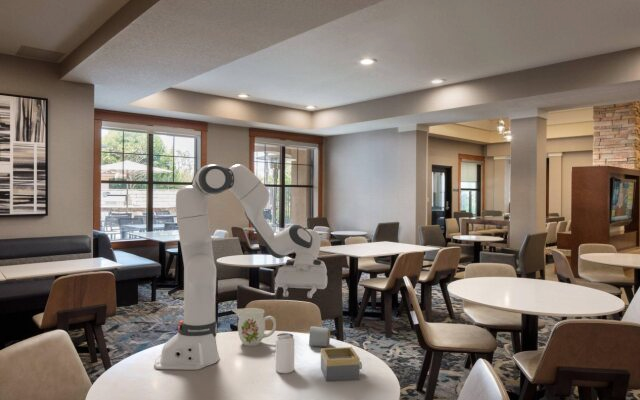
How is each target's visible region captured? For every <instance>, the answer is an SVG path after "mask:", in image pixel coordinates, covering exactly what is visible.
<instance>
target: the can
mask: <svg viewBox="0 0 640 400" xmlns="http://www.w3.org/2000/svg"><path fill="white" fill-rule="evenodd" d="M275 371H276V373H279V374H282V375H284V374H286V375H287V374H291V373H293V372H294V371H295V339H294V335H293V334H292V333H287V332H282V333H279V334H277V335H276V338H275Z"/></svg>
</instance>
